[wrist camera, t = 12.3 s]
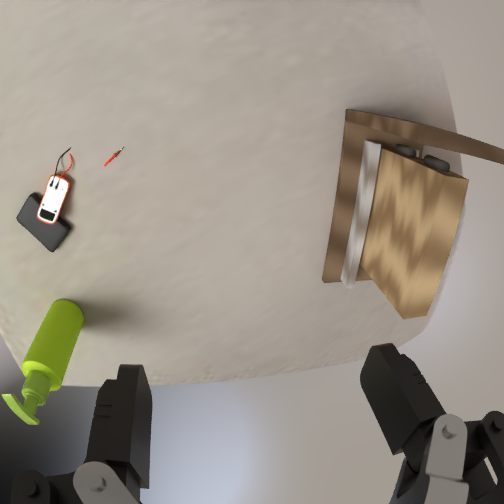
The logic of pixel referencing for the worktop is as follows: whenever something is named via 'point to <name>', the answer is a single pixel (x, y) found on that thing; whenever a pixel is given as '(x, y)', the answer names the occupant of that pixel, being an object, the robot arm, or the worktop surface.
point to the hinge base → (364, 178)
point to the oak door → (411, 227)
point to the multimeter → (48, 211)
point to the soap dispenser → (47, 358)
